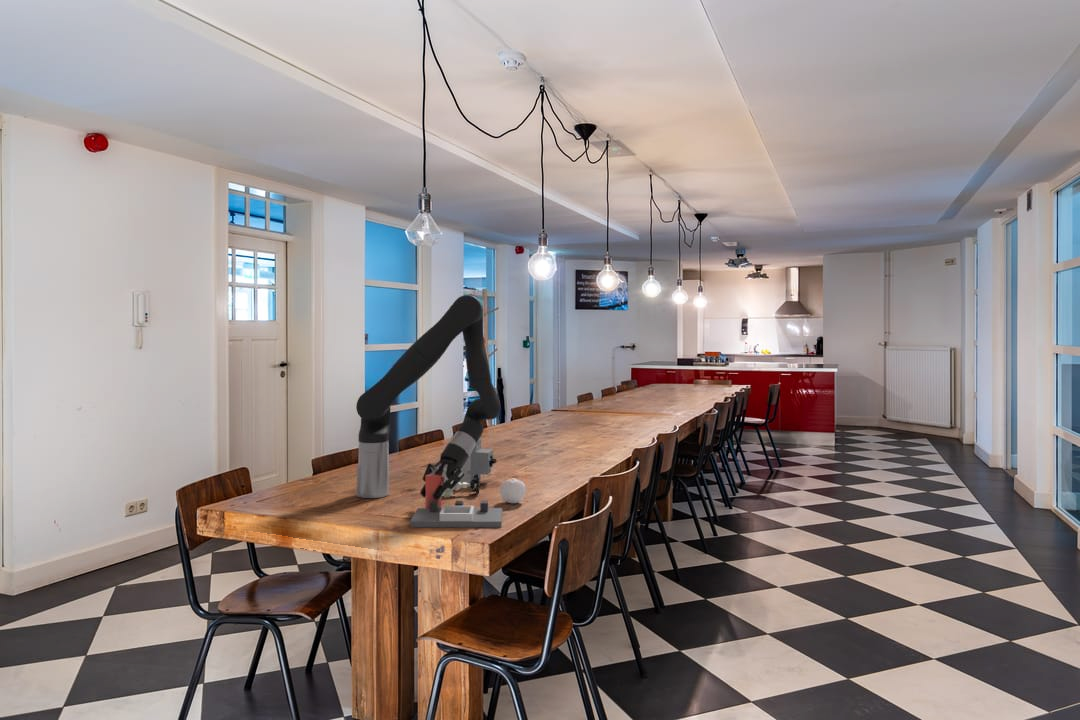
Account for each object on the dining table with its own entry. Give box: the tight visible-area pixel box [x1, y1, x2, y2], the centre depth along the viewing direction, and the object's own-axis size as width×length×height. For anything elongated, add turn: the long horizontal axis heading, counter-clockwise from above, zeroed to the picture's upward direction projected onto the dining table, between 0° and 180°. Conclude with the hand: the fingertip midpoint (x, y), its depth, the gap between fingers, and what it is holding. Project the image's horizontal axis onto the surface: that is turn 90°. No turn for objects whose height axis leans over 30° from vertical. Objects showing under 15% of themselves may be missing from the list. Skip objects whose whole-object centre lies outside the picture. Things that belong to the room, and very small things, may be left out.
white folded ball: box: [499, 477, 527, 504], centre depth 202 cm, size 8×8×8 cm
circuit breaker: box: [452, 437, 498, 483], centre depth 230 cm, size 8×14×15 cm, turn 81°
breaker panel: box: [409, 500, 503, 528], centre depth 182 cm, size 24×14×4 cm, turn 92°
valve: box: [442, 474, 481, 498], centre depth 211 cm, size 7×7×12 cm
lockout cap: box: [424, 474, 442, 508], centre depth 193 cm, size 5×5×10 cm
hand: (428, 496), depth 191 cm, fingers closed on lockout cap, 4 cm apart
